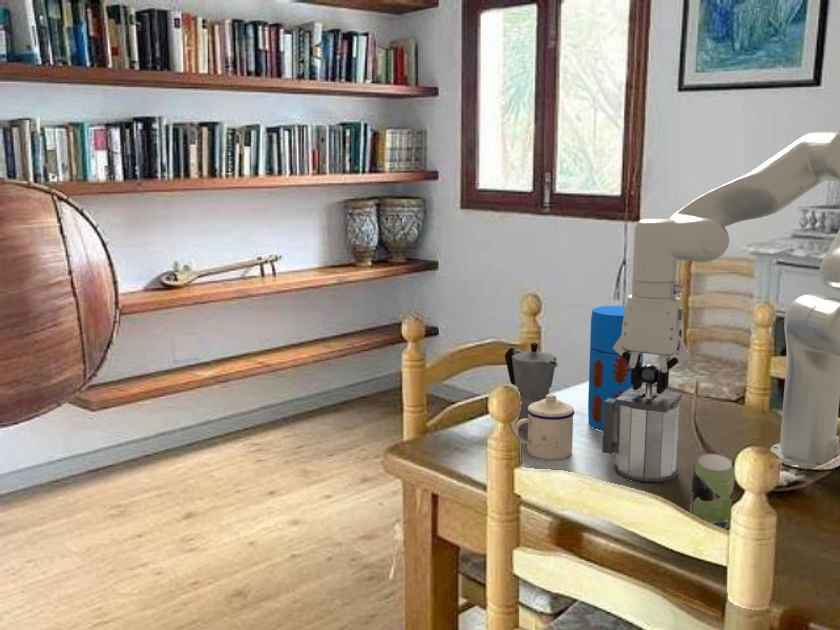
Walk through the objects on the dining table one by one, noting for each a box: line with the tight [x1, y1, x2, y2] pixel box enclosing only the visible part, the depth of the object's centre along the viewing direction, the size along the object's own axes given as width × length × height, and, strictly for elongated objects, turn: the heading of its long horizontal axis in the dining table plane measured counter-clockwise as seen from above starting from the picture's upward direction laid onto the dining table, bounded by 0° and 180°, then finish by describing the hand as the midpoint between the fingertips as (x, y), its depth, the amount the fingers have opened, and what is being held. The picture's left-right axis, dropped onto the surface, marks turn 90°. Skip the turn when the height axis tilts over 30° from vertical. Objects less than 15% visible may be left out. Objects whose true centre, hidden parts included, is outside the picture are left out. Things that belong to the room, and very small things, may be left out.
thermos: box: [587, 305, 644, 432], centre depth 178 cm, size 11×11×25 cm
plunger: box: [640, 364, 660, 399], centre depth 153 cm, size 7×7×18 cm
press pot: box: [601, 386, 682, 485], centre depth 154 cm, size 14×11×14 cm
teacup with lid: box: [513, 393, 575, 461], centre depth 164 cm, size 12×9×12 cm
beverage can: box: [689, 453, 736, 529], centre depth 131 cm, size 6×7×12 cm
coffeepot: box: [504, 342, 558, 432], centre depth 181 cm, size 15×9×18 cm, turn 36°
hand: (649, 389), depth 152 cm, fingers closed on plunger, 3 cm apart
